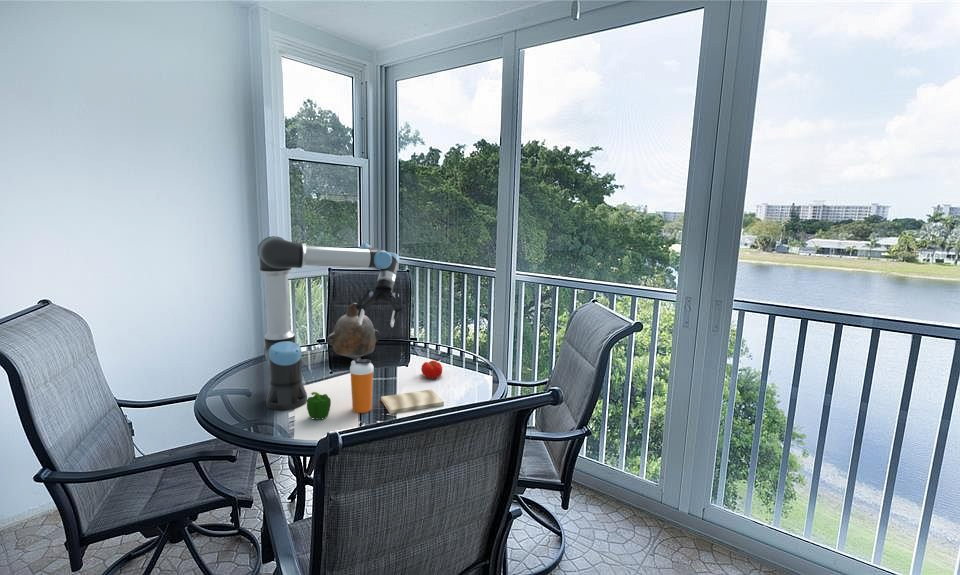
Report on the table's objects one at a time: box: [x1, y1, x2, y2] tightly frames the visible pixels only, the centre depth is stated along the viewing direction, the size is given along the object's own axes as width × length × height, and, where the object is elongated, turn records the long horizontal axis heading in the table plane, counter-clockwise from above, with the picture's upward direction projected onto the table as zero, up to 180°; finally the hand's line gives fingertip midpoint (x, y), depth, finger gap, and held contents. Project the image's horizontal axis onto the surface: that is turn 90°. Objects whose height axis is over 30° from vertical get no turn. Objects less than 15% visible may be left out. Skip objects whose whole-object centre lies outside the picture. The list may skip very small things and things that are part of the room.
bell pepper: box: [306, 391, 332, 420], centre depth 173 cm, size 8×8×10 cm
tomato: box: [420, 360, 443, 379], centre depth 220 cm, size 10×11×6 cm
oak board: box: [380, 389, 445, 415], centre depth 190 cm, size 22×14×2 cm, turn 116°
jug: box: [326, 302, 381, 360], centre depth 238 cm, size 24×21×30 cm
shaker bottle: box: [349, 357, 375, 414], centre depth 180 cm, size 9×9×20 cm
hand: (375, 324), depth 194 cm, fingers open, 13 cm apart
